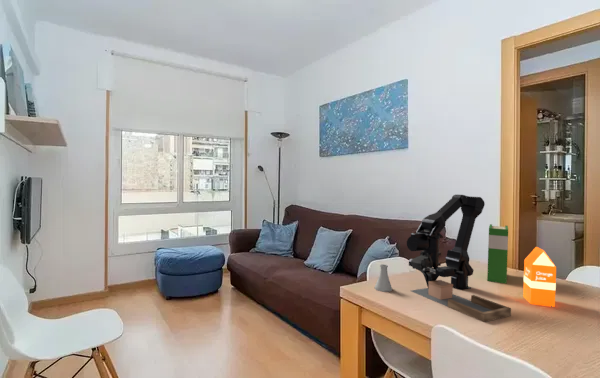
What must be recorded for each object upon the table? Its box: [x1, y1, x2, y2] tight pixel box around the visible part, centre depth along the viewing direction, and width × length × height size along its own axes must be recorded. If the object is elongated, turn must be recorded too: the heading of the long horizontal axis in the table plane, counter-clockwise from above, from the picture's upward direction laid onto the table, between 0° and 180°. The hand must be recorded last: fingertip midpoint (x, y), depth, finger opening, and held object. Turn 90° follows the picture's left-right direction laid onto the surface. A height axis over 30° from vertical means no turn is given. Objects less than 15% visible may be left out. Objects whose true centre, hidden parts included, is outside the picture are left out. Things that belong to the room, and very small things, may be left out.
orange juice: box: [522, 246, 557, 308], centre depth 124 cm, size 8×9×20 cm
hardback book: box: [486, 223, 509, 285], centre depth 155 cm, size 18×7×24 cm, turn 149°
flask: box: [374, 263, 393, 293], centre depth 135 cm, size 7×7×10 cm
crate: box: [428, 279, 454, 300], centre depth 127 cm, size 6×6×5 cm
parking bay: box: [447, 294, 512, 323], centre depth 113 cm, size 13×14×2 cm
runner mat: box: [410, 287, 491, 323], centre depth 121 cm, size 13×32×1 cm, turn 25°
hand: (429, 288), depth 132 cm, fingers closed
